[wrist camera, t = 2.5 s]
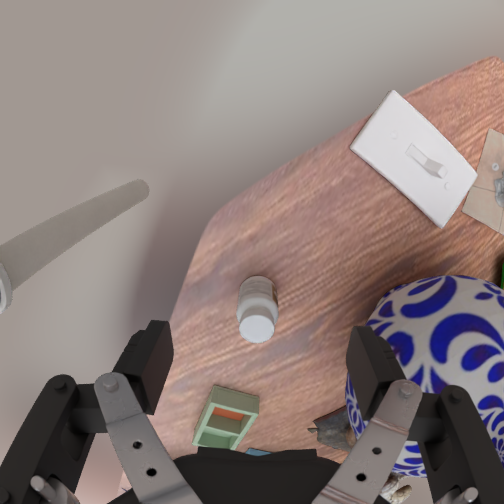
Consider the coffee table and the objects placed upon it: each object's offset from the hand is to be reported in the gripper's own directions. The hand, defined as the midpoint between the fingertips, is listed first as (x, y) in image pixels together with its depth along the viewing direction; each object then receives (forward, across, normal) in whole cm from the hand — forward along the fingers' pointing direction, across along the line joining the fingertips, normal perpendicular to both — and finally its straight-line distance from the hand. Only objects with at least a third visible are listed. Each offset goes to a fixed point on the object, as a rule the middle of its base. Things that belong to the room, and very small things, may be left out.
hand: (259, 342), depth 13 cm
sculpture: (+18, -30, -7) cm, 35 cm away
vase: (+22, -19, +12) cm, 31 cm away
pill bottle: (+22, 0, +9) cm, 24 cm away
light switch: (+19, -24, -3) cm, 30 cm away
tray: (+22, +5, +33) cm, 40 cm away
